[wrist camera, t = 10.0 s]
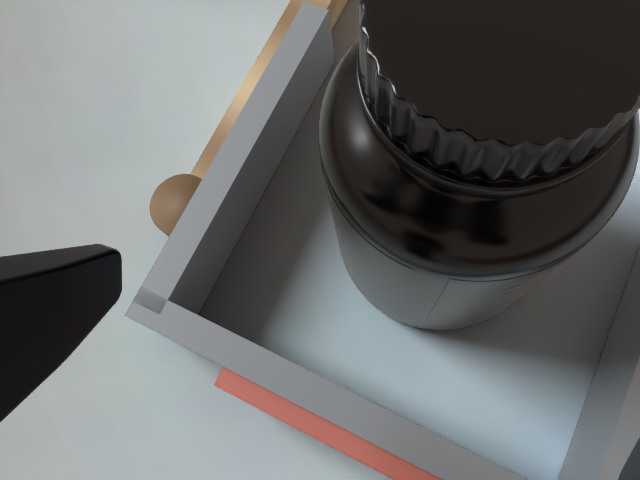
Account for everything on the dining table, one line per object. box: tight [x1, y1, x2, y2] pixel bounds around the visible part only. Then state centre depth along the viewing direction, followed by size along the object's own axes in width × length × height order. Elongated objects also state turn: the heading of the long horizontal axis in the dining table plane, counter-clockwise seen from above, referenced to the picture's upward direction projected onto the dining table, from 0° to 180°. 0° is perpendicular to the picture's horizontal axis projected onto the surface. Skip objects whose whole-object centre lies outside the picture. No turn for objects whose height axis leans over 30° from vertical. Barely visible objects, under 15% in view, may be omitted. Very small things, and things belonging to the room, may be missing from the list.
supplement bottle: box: [319, 0, 640, 330], centre depth 14 cm, size 7×7×12 cm
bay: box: [124, 1, 640, 480], centre depth 18 cm, size 13×15×3 cm
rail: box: [150, 0, 348, 237], centre depth 22 cm, size 18×2×2 cm, turn 154°
